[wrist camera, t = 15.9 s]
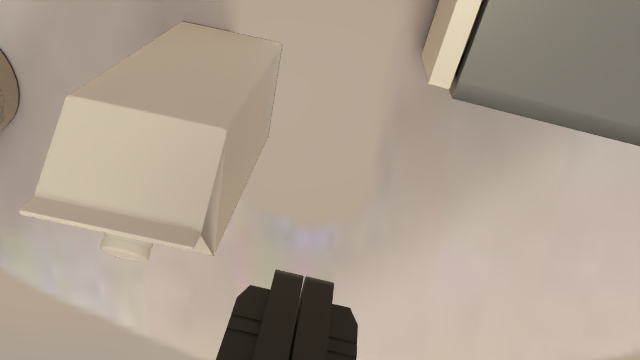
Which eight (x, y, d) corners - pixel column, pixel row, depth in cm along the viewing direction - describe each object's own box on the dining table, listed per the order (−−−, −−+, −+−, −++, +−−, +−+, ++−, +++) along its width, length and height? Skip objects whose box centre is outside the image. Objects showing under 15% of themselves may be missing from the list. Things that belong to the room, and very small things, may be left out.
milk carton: (181, 20, 36) (8, 131, 19) (283, 42, 36) (199, 173, 19) (176, 115, 39) (26, 279, 22) (269, 135, 39) (187, 314, 23)
